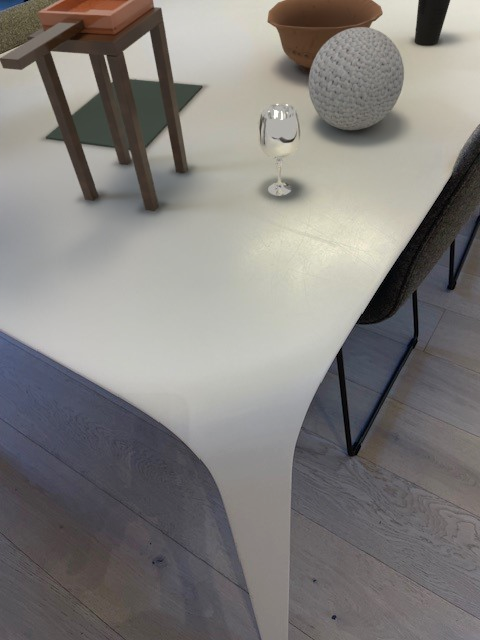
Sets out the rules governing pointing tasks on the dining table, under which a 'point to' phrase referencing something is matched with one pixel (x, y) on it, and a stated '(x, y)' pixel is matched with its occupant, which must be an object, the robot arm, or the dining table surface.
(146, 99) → the place mat
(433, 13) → the drinking cup
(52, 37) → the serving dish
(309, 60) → the bowl
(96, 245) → the dining table surface
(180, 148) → the stand
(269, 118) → the wineglass
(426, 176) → the dining table surface
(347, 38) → the decorative ball
